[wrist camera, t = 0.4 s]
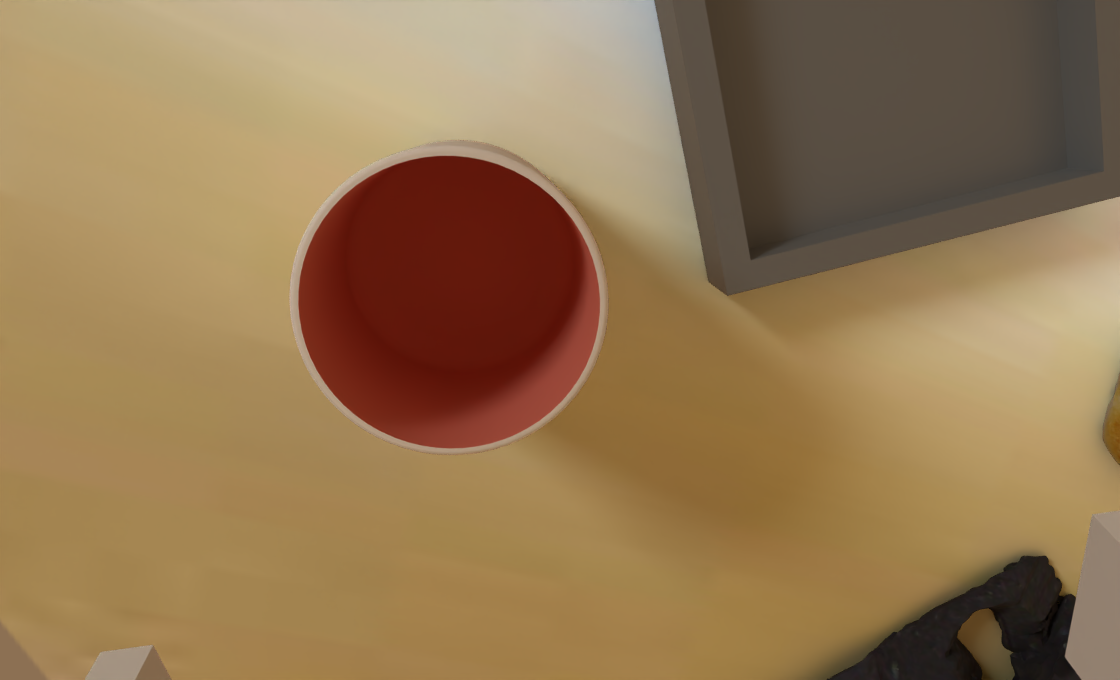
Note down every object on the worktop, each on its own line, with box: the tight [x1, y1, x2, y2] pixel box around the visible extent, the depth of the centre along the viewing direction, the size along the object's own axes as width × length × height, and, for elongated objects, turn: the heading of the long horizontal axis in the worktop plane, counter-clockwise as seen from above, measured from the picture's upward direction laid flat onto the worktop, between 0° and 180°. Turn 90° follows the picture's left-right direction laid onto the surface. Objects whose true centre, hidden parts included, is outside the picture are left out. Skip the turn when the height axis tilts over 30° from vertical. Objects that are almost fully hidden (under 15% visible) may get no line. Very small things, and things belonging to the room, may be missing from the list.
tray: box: [654, 0, 1120, 296], centre depth 33 cm, size 17×17×3 cm
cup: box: [290, 140, 609, 455], centre depth 30 cm, size 10×10×10 cm
